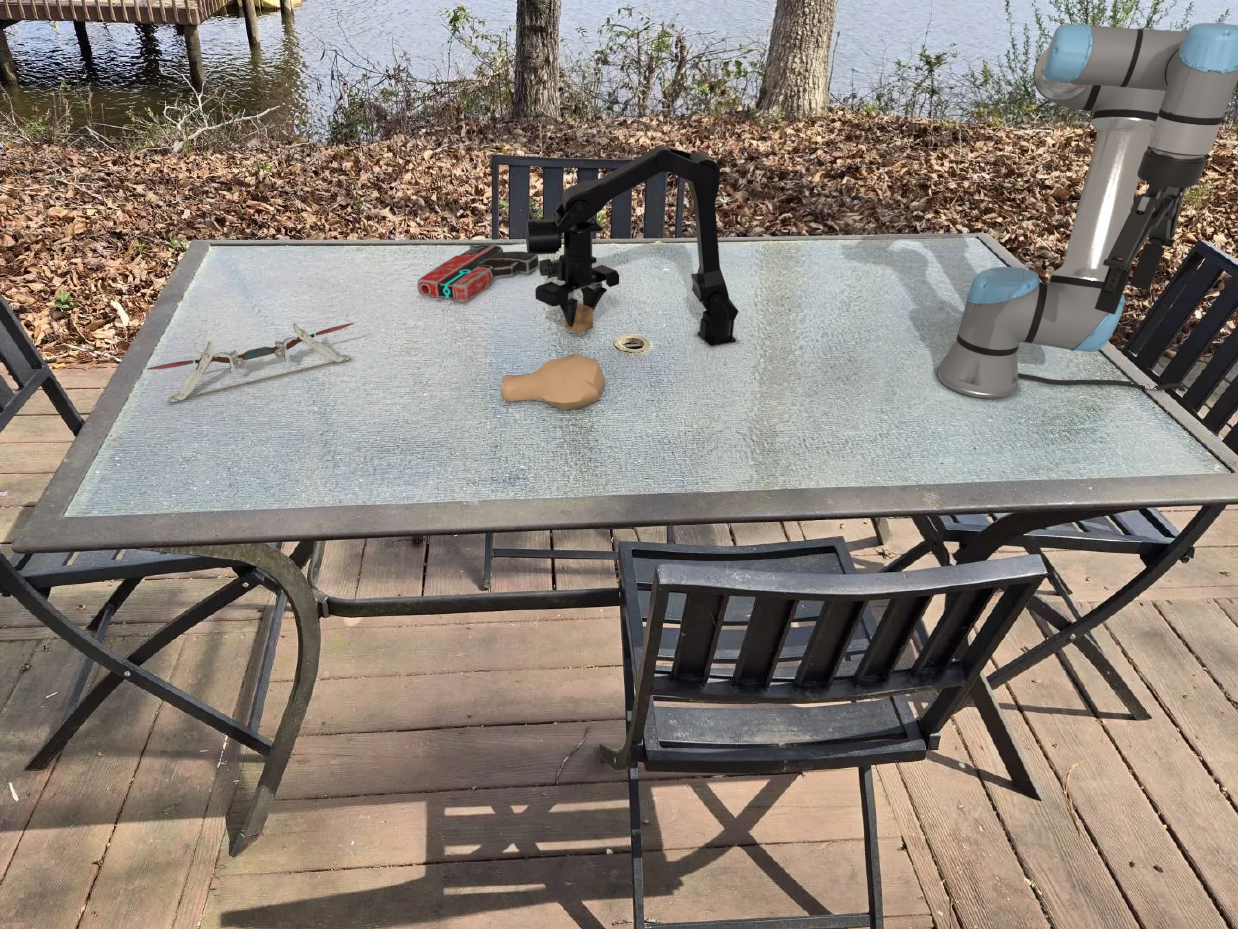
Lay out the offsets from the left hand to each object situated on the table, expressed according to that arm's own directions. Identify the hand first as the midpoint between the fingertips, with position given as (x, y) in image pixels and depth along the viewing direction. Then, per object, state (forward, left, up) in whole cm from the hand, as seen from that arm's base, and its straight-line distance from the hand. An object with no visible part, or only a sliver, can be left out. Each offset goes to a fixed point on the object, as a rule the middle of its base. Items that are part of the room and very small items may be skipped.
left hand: (578, 323), depth 185 cm
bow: (+63, -8, -6) cm, 64 cm away
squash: (+13, +20, -6) cm, 25 cm away
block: (0, 0, -1) cm, 1 cm away
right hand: (-58, +77, +28) cm, 100 cm away
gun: (+10, -43, -6) cm, 44 cm away
